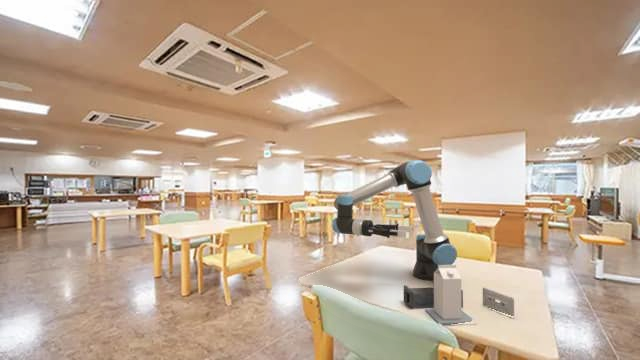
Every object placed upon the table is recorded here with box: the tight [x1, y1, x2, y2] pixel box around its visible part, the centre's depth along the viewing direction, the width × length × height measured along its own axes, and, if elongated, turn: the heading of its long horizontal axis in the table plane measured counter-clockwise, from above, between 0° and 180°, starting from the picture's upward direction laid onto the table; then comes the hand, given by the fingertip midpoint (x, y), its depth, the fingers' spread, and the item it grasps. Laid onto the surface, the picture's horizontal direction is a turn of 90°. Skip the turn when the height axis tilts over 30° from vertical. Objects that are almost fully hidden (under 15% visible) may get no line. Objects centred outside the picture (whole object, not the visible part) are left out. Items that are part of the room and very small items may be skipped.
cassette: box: [482, 286, 515, 317], centre depth 107 cm, size 12×2×8 cm, turn 25°
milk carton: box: [433, 264, 462, 319], centre depth 103 cm, size 7×7×19 cm
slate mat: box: [424, 308, 473, 326], centre depth 102 cm, size 14×11×1 cm
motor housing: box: [403, 284, 464, 310], centre depth 113 cm, size 23×7×7 cm, turn 95°
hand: (409, 231), depth 117 cm, fingers open, 13 cm apart
